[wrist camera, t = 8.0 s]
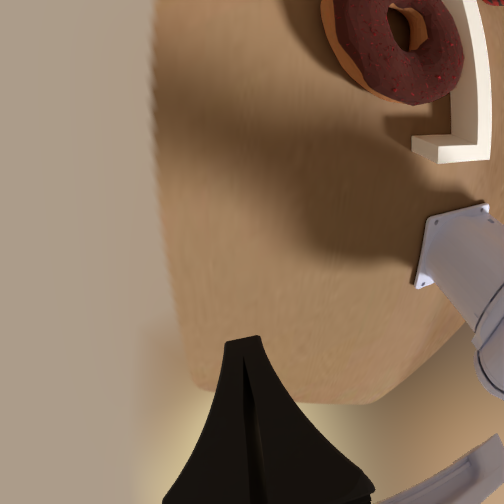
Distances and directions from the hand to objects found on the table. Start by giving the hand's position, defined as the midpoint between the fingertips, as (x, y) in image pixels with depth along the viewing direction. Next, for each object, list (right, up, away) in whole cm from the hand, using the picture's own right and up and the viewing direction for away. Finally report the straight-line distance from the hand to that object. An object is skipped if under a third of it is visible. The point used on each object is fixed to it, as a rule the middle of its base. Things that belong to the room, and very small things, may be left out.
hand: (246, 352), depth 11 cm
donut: (+9, +18, +1) cm, 20 cm away
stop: (+14, +19, +1) cm, 24 cm away
